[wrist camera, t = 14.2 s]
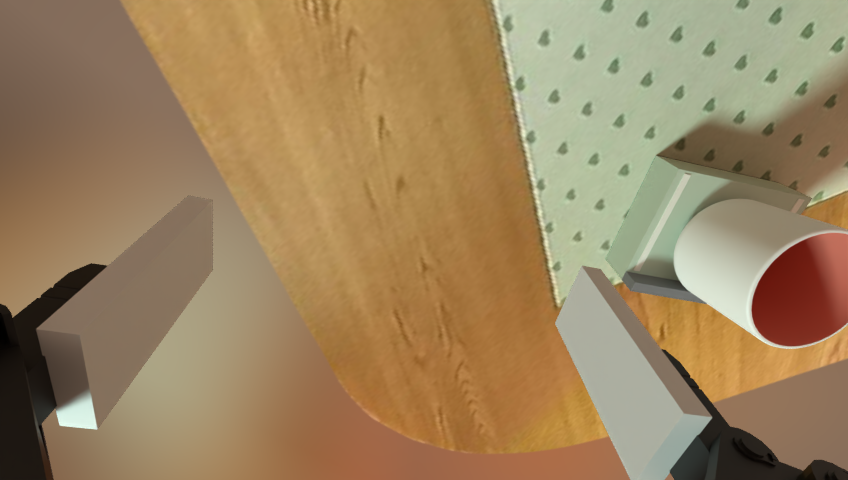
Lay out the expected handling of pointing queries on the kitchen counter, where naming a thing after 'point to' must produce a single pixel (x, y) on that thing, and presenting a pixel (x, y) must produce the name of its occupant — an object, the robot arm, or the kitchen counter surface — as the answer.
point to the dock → (680, 219)
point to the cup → (767, 270)
